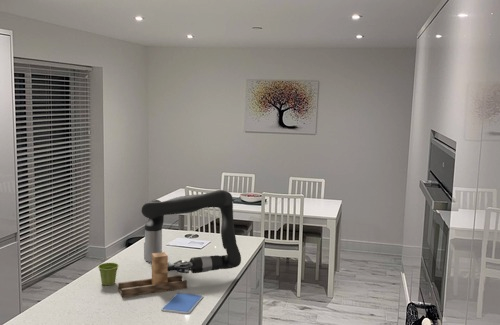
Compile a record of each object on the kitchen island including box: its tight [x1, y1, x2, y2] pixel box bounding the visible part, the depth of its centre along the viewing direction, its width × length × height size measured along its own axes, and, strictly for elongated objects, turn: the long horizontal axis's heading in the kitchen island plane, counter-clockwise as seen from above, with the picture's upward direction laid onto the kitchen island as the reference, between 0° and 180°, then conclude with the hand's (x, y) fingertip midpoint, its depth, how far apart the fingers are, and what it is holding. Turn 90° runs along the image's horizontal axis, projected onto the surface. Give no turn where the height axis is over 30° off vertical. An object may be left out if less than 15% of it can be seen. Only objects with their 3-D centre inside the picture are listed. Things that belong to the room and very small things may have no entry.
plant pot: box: [97, 262, 120, 286], centre depth 227 cm, size 9×9×9 cm
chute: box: [117, 274, 188, 299], centre depth 221 cm, size 30×10×4 cm, turn 115°
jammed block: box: [151, 251, 169, 285], centre depth 221 cm, size 6×6×15 cm
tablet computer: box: [161, 292, 204, 315], centre depth 206 cm, size 19×13×1 cm, turn 167°
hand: (165, 268), depth 223 cm, fingers closed
